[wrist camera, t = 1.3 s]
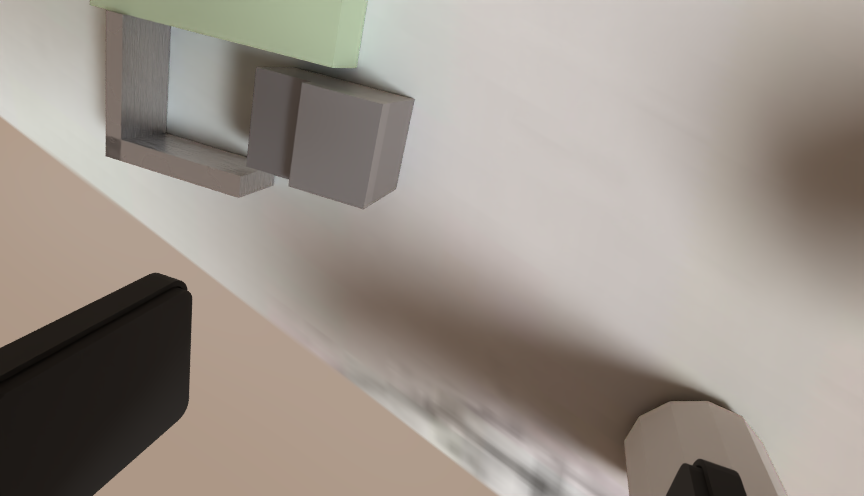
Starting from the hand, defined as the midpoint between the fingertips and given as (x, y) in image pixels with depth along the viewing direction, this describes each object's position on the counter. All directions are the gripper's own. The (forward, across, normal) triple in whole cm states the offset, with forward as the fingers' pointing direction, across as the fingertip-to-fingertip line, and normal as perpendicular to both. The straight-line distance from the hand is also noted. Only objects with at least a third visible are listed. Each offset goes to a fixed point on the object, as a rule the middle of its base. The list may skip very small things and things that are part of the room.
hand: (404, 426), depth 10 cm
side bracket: (+20, +19, 0) cm, 28 cm away
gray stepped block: (+20, +10, 0) cm, 23 cm away
